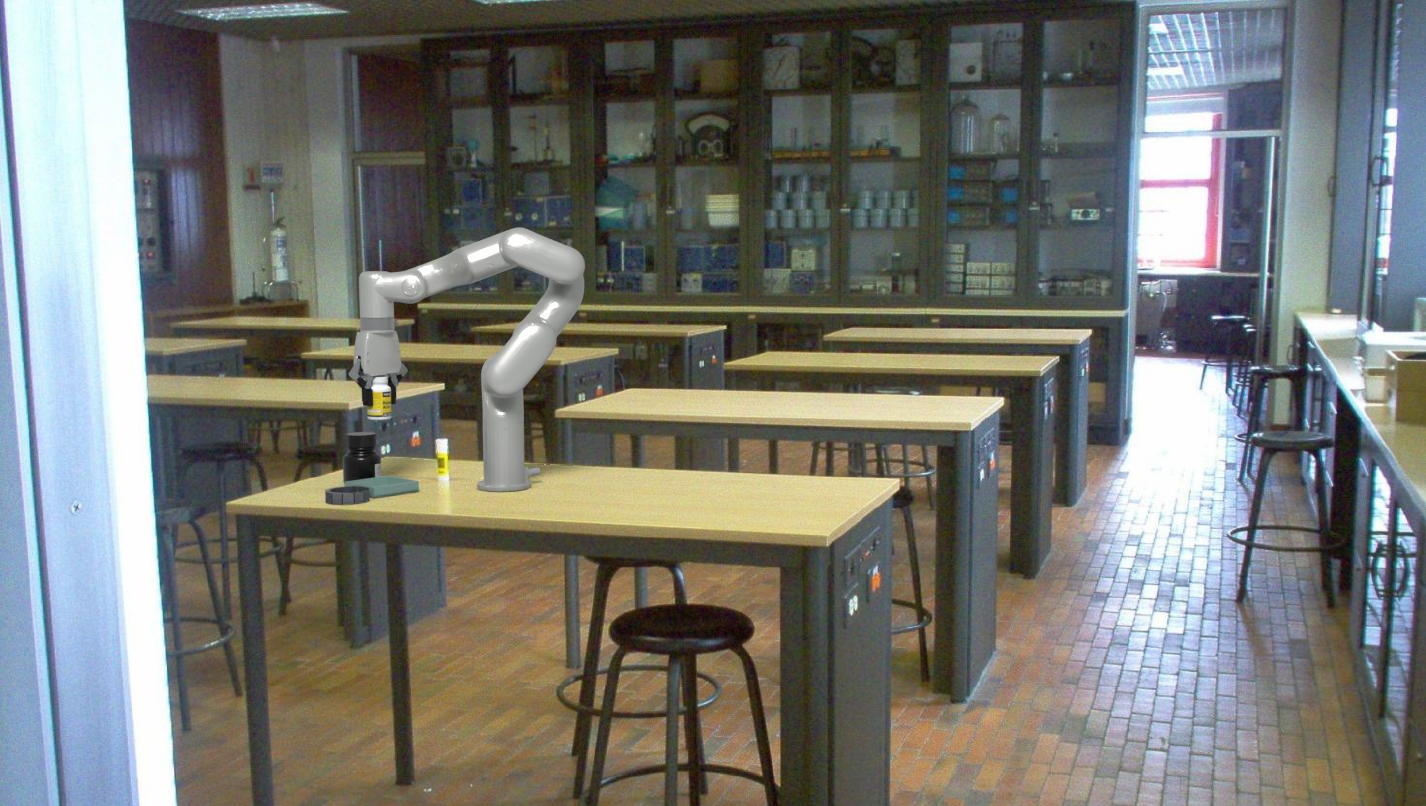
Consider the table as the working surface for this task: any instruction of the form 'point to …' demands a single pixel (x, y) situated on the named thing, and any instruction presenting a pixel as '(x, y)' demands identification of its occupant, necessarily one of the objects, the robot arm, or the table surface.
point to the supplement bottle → (380, 399)
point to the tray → (386, 486)
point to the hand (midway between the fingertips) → (379, 403)
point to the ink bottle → (361, 457)
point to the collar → (347, 495)
